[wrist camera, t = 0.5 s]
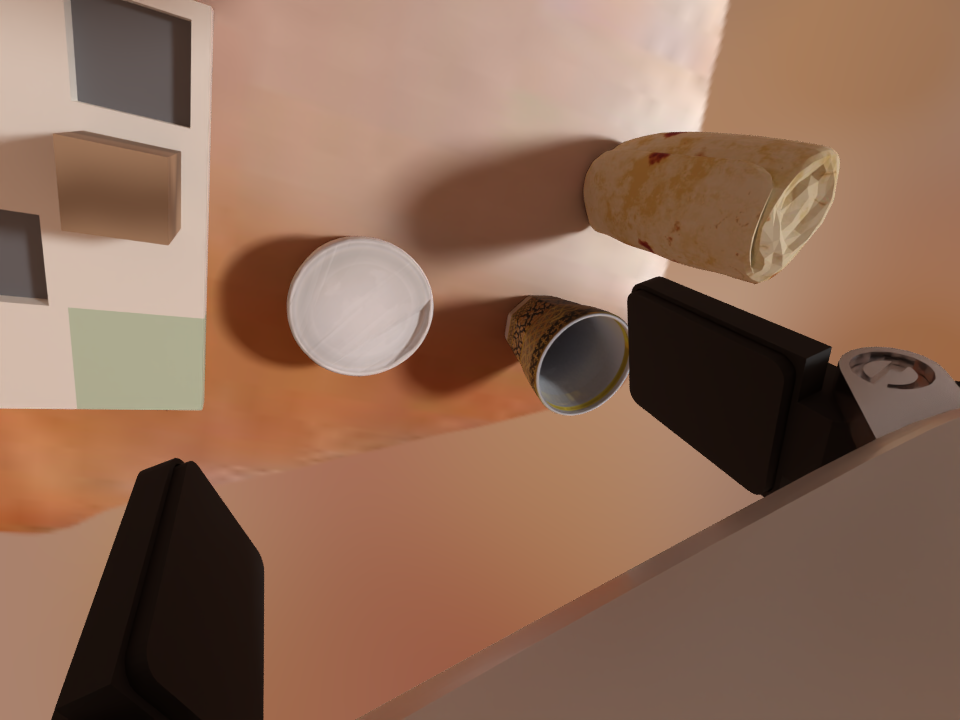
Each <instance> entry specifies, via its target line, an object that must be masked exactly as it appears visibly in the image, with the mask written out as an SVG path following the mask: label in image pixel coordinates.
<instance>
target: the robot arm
mask: <svg viewBox="0 0 960 720" xmlns="http://www.w3.org/2000/svg"><path fill="white" fill-rule="evenodd" d="M627 308H628V345H629V381H630V393H631V396H632V398H633V399H634V401H635V402H636V403H637V404H638V405H639V406H641V407H642V408H643V409H645V410H646V411H647V412H648V413H650V414H651V415H652V416H653V417H655V418H656V419H657V420H659V421H660V422H662V424H664V425H665V426H666V427H668V428H669V429H670V430H672V431H673V432H674V433H675V434H677V435H678V436H679V437H680V438H682V439H683V440H684V441H685V442H687V443H688V444H689V445H691V446H692V447H693V448H694V449H696V450H697V451H698V452H700V453H701V454H702V455H703V456H705V457H706V458H707V459H709V460H710V461H711V462H712V463H714V464H715V465H716V466H717V467H719V468H720V469H721V470H723V471H724V472H725V473H726V474H728V475H729V476H730V477H732V478H733V479H734V480H735V481H737V482H738V483H739V484H740V485H742V486H743V487H744V488H746V489H747V490H748V491H750V492H751V493H753V494H756V495H758V494H759V495H760V494H761V495H762V496H763V497H764V498H762V499H760V500H758V501H757V502H755V503H753V504H751V505H749V506H747V507H745V508H743V509H742V510H740V511H738V512H736V513H734V514H732V515H730V516H728V517H727V518H725V519H723V520H721V521H719V522H717V523H715V524H713V525H712V526H710V527H708V528H706V529H704V530H702V531H700V532H699V533H697V534H695V535H693V536H691V537H689V538H687V539H686V540H684V541H682V542H680V543H678V544H676V545H675V546H673V547H671V548H669V549H667V550H665V551H663V552H662V553H660V554H658V555H656V556H654V557H652V558H650V559H649V560H647V561H645V562H643V563H641V564H639V565H638V566H636V567H634V568H632V569H630V570H628V571H627V572H625V573H623V574H621V575H619V576H617V577H615V578H614V579H612V580H610V581H608V582H606V583H604V584H602V585H601V586H599V587H597V588H595V589H593V590H591V591H590V592H588V593H586V594H584V595H582V596H580V597H579V598H577V599H575V600H573V601H571V602H569V603H568V604H566V605H564V606H562V607H560V608H558V609H557V610H555V611H553V612H551V613H549V614H547V615H545V616H544V617H542V618H540V619H538V620H536V621H534V622H533V623H531V624H529V625H527V626H525V627H523V628H522V629H520V630H518V631H516V632H514V633H513V634H511V635H509V636H507V637H505V638H503V639H502V640H500V641H498V642H496V643H494V644H493V645H491V646H489V647H487V648H486V649H483V650H482V651H480V652H478V653H476V654H474V655H472V656H471V657H469V658H467V659H466V660H463V661H462V662H460V663H458V664H456V665H454V666H452V667H451V668H449V669H447V670H445V671H444V672H441V673H440V674H438V675H436V676H434V677H432V678H431V679H429V680H427V681H425V682H423V683H422V684H420V685H418V686H416V687H414V688H412V689H411V690H409V691H407V692H405V693H403V694H401V695H400V696H398V697H396V698H394V699H392V700H391V701H389V702H387V703H385V704H383V705H381V706H380V707H378V708H376V709H374V710H372V711H370V712H369V713H367V714H365V715H364V716H361V717H360V718H358V719H356V720H960V381H959V382H958V381H954V380H953V379H952V378H951V377H950V375H949V374H948V373H947V372H946V371H945V370H944V369H943V368H942V367H941V366H940V365H938V364H937V363H936V362H934V361H932V360H930V359H928V358H926V357H924V356H921V355H919V354H916V353H913V352H910V351H905V350H900V349H895V348H886V347H866V348H859V349H855V350H851V351H849V352H847V353H845V354H844V355H842V357H841V358H840V360H839V362H838V366H837V367H836V366H834V365H832V364H830V363H828V361H829V357H830V353H831V348H832V347H831V346H828V345H826V344H824V343H821V342H819V341H816V340H814V339H811V338H809V337H807V336H804V335H802V334H799V333H797V332H795V331H792V330H790V329H787V328H785V327H782V326H780V325H777V324H775V323H773V322H770V321H768V320H765V319H763V318H761V317H758V316H756V315H753V314H750V313H748V312H746V311H744V310H741V309H738V308H736V307H734V306H731V305H729V304H727V303H724V302H722V301H719V300H717V299H714V298H712V297H710V296H707V295H704V294H702V293H700V292H697V291H695V290H692V289H690V288H688V287H685V286H683V285H680V284H678V283H676V282H673V281H671V280H668V279H666V278H663V277H655V278H652V279H650V280H647V281H644V282H642V283H639V284H636V285H635V286H634V287H633V289H632V293H631V294H630V295H629V296H628V300H627ZM263 672H264V566H263V562H262V559H261V556H260V554H259V552H258V550H257V549H256V547H255V546H254V545H253V543H252V542H251V540H250V539H249V537H248V536H247V535H246V533H245V532H244V530H243V529H242V528H241V526H240V525H239V523H238V522H237V520H236V519H235V518H234V516H233V515H232V513H231V512H230V510H229V509H228V508H227V506H226V505H225V503H224V502H223V501H222V499H221V498H220V496H219V495H218V493H217V492H216V491H215V489H214V488H213V486H212V485H211V483H210V482H209V481H208V479H207V478H206V476H205V475H204V473H203V472H202V471H201V469H200V468H199V466H198V465H197V464H196V463H195V462H193V461H189V462H186V463H184V462H183V461H182V460H180V459H178V458H174V459H171V460H169V461H166V462H164V463H161V464H158V465H156V466H153V467H150V468H148V469H145V470H143V471H141V472H140V473H139V474H138V476H137V479H136V482H135V485H134V487H133V490H132V493H131V496H130V499H129V502H128V504H127V507H126V510H125V513H124V516H123V518H122V521H121V524H120V527H119V530H118V532H117V535H116V538H115V541H114V544H113V547H112V549H111V552H110V555H109V558H108V561H107V563H106V566H105V569H104V572H103V575H102V578H101V580H100V583H99V586H98V589H97V592H96V595H95V597H94V600H93V603H92V606H91V608H90V611H89V614H88V617H87V620H86V623H85V626H84V628H83V631H82V634H81V637H80V639H79V642H78V645H77V648H76V651H75V654H74V657H73V659H72V662H71V665H70V668H69V670H68V673H67V676H66V679H65V682H64V684H63V687H62V690H61V693H60V696H59V699H58V701H57V704H56V707H55V711H54V713H53V716H52V719H51V720H263V689H264V688H263V686H264V685H263V684H264V679H263V678H264V677H263V676H264V673H263Z"/></svg>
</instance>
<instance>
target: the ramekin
mask: <svg viewBox="0 0 960 720" xmlns="http://www.w3.org/2000/svg"><path fill="white" fill-rule="evenodd" d="M287 316H288V322H289V326H290V329H291V332H292V334H293V337H294V339H295V340H296V342H297V344H298V345H299V346H300V348H301V349H302V350H303V352H304V353H305V354H306V355H307V356H308V357H309V358H310V359H311V360H313V361H314V362H315V363H316V364H318V365H319V366H321V367H323V368H325V369H327V370H330V371H332V372H335V373H339V374H343V375H349V376H367V375H374V374H378V373H381V372H384V371H387V370H389V369H392V368H394V367H396V366H397V365H399V364H401V363H402V362H404V361H405V360H406V359H408V358H409V357H410V356H411V355H412V354H413V353H414V352H415V351H416V350H417V349H418V348H419V346H420V345H421V343H422V342H423V340H424V339H425V337H426V335H427V333H428V330H429V328H430V325H431V321H432V317H433V296H432V291H431V287H430V284H429V282H428V279H427V277H426V275H425V274H424V272H423V270H422V269H421V267H420V266H419V265H418V264H417V262H416V261H415V260H414V259H413V258H412V257H411V256H410V255H409V254H407V253H406V252H405V251H404V250H402V249H401V248H399V247H397V246H395V245H394V244H392V243H389V242H387V241H384V240H381V239H377V238H372V237H362V236H353V237H350V236H347V237H343V238H338V239H336V240H331V241H330V242H328V243H325V244H323V245H322V246H320V247H318V248H317V249H316V250H315V251H313V252H312V253H311V254H310V256H309V257H307V258H306V260H305V261H304V262H303V263H302V265H301V266H300V267H299V268H298V270H297V272H296V273H295V275H294V277H293V279H292V282H291V284H290V288H289V292H288V296H287Z"/></svg>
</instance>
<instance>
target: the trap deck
mask: <svg viewBox="0 0 960 720" xmlns="http://www.w3.org/2000/svg"><path fill="white" fill-rule="evenodd" d="M213 13H214V11H213V9H212V7H211V6H208V5H206V4H203V3H200V2H197V1H194V0H0V408H17V409H128V410H202V408H203V404H204V384H205V343H206V302H207V260H208V219H209V178H210V137H211V95H212V54H213ZM73 131H88V132H93V133H98V134H102V135H107V136H112V137H116V138H121V139H126V140H130V141H135V142H140V143H144V144H149V145H154V146H158V147H163V148H168V149H172V150H177V151H181V229H180V231H179V232H178V233H177V235H176V236H175V237H174V239H173V240H172V241H171V243H170V244H169V245H161V244H154V243H147V242H140V241H132V240H125V239H118V238H111V237H104V236H96V235H89V234H82V233H75V232H67V231H61V222H60V210H59V199H58V188H57V177H56V166H55V155H54V144H53V133H63V132H73Z"/></svg>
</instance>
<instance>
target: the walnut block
mask: <svg viewBox="0 0 960 720" xmlns="http://www.w3.org/2000/svg"><path fill="white" fill-rule="evenodd" d="M53 144H54V155H55V166H56V177H57V188H58V199H59V210H60V222H61V231H67V232H75V233H82V234H89V235H96V236H104V237H111V238H118V239H125V240H132V241H140V242H147V243H154V244H161V245H169V244H170V243H171V241H172V240H173V239H174V237H175V236H176V235H177V233H178V232H179V231H180V229H181V151H177V150H172V149H168V148H163V147H158V146H154V145H149V144H144V143H140V142H135V141H130V140H126V139H121V138H116V137H112V136H107V135H102V134H98V133H93V132H88V131H73V132H63V133H53Z"/></svg>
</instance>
